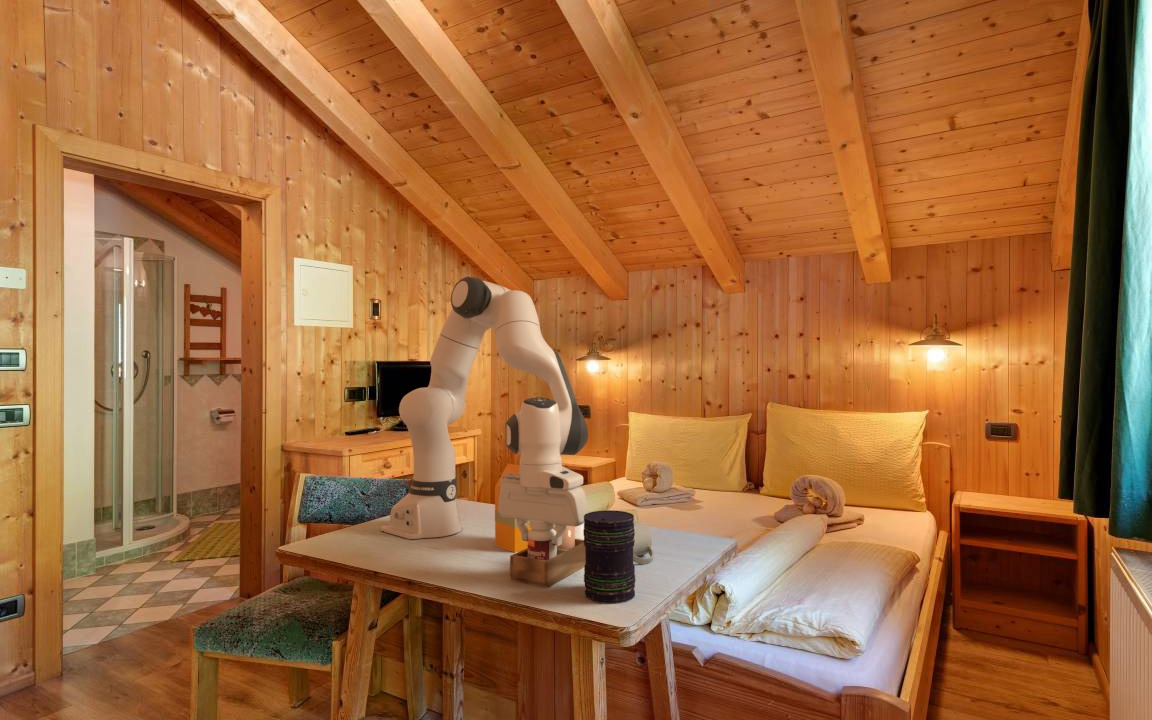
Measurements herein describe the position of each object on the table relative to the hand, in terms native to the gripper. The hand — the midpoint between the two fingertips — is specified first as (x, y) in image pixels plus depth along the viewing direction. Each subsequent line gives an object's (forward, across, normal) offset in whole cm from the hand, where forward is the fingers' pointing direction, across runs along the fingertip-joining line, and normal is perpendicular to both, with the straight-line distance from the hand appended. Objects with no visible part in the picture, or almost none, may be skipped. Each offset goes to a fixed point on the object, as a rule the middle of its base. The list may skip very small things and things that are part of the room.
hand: (541, 542), depth 129 cm
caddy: (+7, 0, +4) cm, 8 cm away
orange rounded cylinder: (+6, 0, +8) cm, 10 cm away
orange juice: (+7, -18, +17) cm, 26 cm away
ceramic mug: (+8, +11, +21) cm, 25 cm away
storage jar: (+7, +17, -2) cm, 19 cm away
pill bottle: (+6, 0, 0) cm, 7 cm away
